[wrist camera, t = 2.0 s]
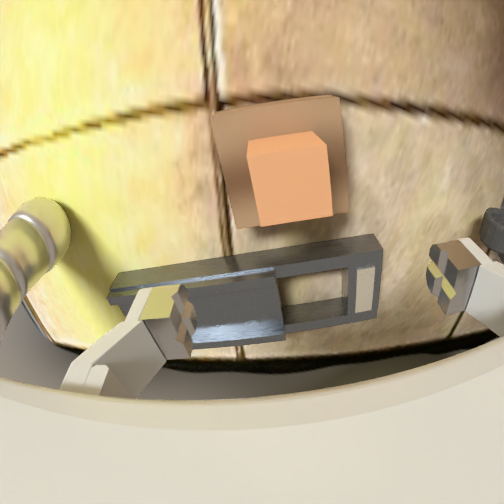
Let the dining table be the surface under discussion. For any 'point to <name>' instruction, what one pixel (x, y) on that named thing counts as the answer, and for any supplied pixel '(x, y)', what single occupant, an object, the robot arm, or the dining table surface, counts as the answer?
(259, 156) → the peach foam cube
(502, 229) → the tankard
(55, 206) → the plastic bottle
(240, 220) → the brown square plate
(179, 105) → the dining table surface
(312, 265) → the grey slotted tray
